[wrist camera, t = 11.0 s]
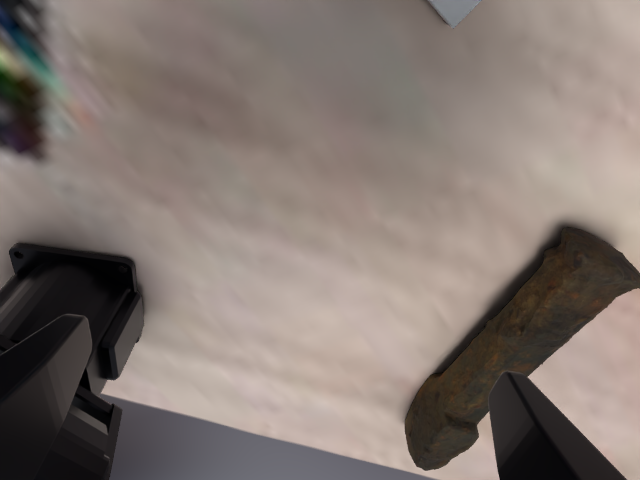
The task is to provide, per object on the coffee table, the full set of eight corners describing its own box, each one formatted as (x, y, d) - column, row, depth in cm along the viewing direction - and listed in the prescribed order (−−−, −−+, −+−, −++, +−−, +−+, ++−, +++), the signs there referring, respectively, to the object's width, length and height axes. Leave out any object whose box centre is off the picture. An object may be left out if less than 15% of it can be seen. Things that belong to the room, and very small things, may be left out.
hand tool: (560, 211, 23) (605, 267, 19) (618, 240, 24) (672, 300, 20) (372, 408, 33) (377, 471, 29) (418, 423, 34) (429, 486, 30)
